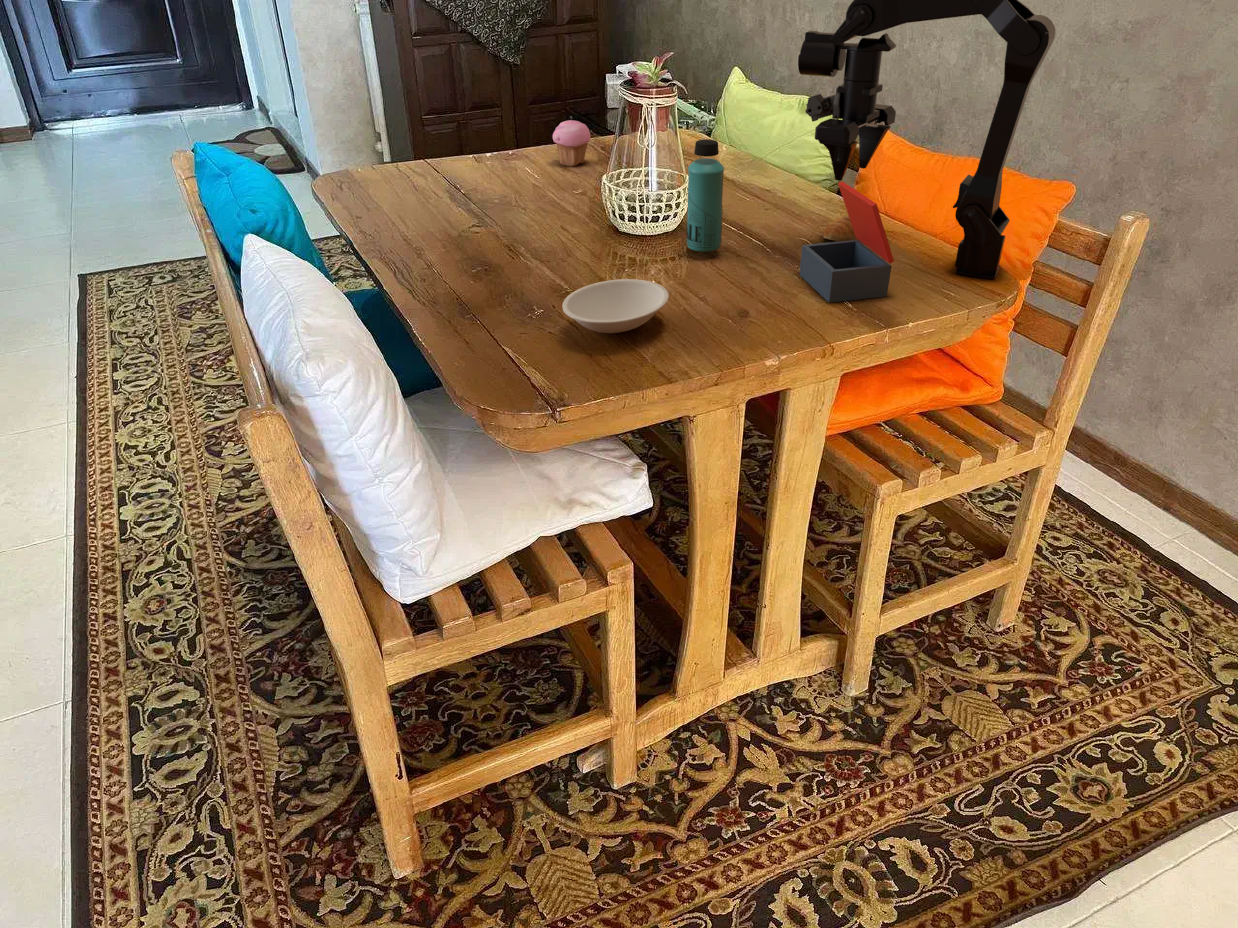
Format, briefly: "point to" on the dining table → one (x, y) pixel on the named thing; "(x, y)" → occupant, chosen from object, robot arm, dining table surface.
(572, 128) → the cupcake
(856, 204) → the lid
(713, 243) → the beverage bottle
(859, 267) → the lunchbox
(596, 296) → the dish
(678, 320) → the dining table surface
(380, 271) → the dining table surface
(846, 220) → the pastry
